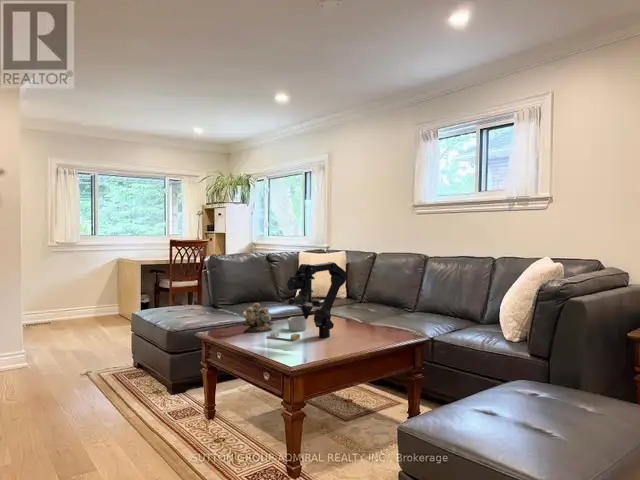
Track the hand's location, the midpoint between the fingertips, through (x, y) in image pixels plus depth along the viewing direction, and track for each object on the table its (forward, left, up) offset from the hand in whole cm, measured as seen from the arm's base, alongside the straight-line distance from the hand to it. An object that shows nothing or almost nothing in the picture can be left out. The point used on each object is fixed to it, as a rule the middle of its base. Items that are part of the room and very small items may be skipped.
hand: (306, 319), depth 229 cm
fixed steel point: (0, -20, -11) cm, 23 cm away
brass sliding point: (0, -7, -11) cm, 13 cm away
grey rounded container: (-21, -19, -13) cm, 31 cm away
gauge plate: (0, -14, -12) cm, 18 cm away
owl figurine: (-8, -37, -13) cm, 40 cm away
